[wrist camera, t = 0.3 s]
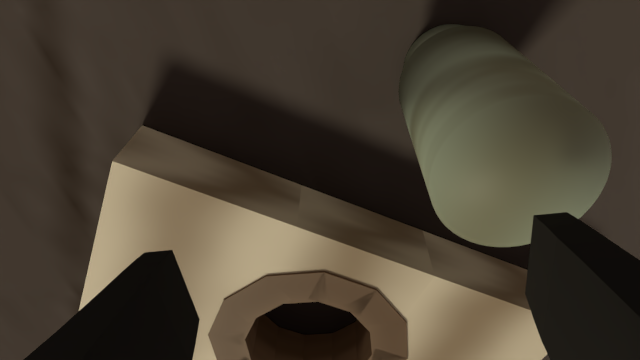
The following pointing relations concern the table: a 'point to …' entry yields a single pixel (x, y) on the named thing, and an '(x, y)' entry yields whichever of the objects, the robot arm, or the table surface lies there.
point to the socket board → (302, 264)
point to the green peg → (497, 136)
